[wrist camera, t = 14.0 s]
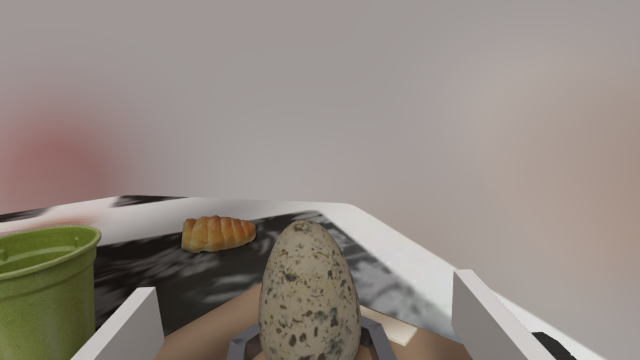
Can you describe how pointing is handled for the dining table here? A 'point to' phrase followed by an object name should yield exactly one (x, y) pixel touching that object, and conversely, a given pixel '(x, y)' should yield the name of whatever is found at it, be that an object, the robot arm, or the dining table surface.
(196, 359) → the walnut board
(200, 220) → the pastry
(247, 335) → the ring socket
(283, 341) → the decorative egg
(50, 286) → the plant pot
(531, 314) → the dining table surface
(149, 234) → the dining table surface
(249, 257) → the dining table surface
